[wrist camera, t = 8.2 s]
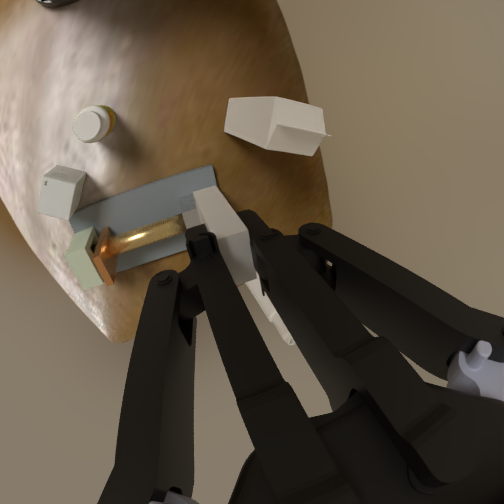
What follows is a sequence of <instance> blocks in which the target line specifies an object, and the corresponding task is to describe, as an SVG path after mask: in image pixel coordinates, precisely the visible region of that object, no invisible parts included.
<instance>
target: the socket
mask: <svg viewBox="0 0 504 504" xmlns="http://www.w3.org/2000/svg"><path fill="white" fill-rule="evenodd" d="M98 239H99V238H98V236H97V234H96V231H95V229H94V227H90V228H88V229H85V230H83V231H80V232H78V233H75V235H74V237H73V239H72V241H71V243H70V245H69V247H68V249H67V251H66V253H65V256H64V257H65V259H66V260H67V262H68V264H69V266H70V268H71V270H72V271H73V273H74V275H75V277H76V278H77V280H78V282H79V283H80V285H81V287H82V288H83V290H87V289H90V288H93V287H95V286H98V285H101V284H103V283H104V279H103V277H102V276H101V274H100V272H99V270H98V268H97V266H96V264H95V262H94V261H93V253H92V251H91V249H90V247H91V245H92V244H95V243H97V242H98Z"/></svg>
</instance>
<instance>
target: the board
mask: <svg viewBox="0 0 504 504" xmlns="http://www.w3.org/2000/svg"><path fill="white" fill-rule="evenodd" d="M211 186H216V187H217V184H216V180H215V175H214V171H213V166H212V165H207V166H203V167H200V168H196V169H193V170H189V171H186V172H183V173H179V174H176V175H173V176H170V177H166V178H163V179H160V180H157V181H154V182H151V183H148V184H145V185H142V186H139V187H136V188H134V189H131V190H128V191H125V192H123V193H120V194H117V195H114V196H112V197H109V198H107V199H104V200H102V201H99V202H97V203H94V204H92V205H89V206H87V207H84V208H82V209H80V210H77V211H75V212H74V214H73V215H72V217H71V218H70V220H69V222H70V224H71V226H72V228H73V231H74V233H78V232H80V231H83V230H85V229H88V228H90V227H94V229H95V231H96V234H97V236H98V238H99V236H100V233H101V230H102V228H105V227H109V230H110V232H111V234H112V237H114V236H116V235H119V234H122V233H125V232H127V231H130V230H133V229H136V228H139V227H142V226H145V225H147V224H150V223H153V222H156V221H159V220H162V219H165V218H168V217H171V216H174V215H178V214H181V213H182V212H181V208H180V205H179V201H178V198H180V197H183V196H186V195H189V194H193V192H194V191H198V190H201V189H204V188H208V187H211ZM184 250H187V247H186V238H185V233H182V234H179V235H176V236H173V237H170V238H167V239H164V240H161V241H158V242H155V243H152V244H149V245H146V246H143V247H140V248H137V249H134V250H132V251H129V252H126V253H123V254H120V255H118V259H117V266H116V273H118V272H121V271H124V270H127V269H130V268H133V267H136V266H139V265H142V264H145V263H148V262H151V261H154V260H157V259H160V258H163V257H166V256H169V255H172V254H175V253H178V252H181V251H184Z"/></svg>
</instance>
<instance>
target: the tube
mask: <svg viewBox="0 0 504 504" xmlns="http://www.w3.org/2000/svg"><path fill="white" fill-rule="evenodd" d="M186 230H187V229H186V225H185V222H184V219H183V215H182V213H181V214H178V215H174V216H171V217H168V218H165V219H162V220H159V221H156V222H153V223H150V224H147V225H145V226H142V227H139V228H136V229H133V230H130V231H127V232H125V233H122V234H119V235H116V236H114V237H112V234H111V232H110V230H109V227H105V228H102V230H101V233H100V236H99V239H98V242H97V243H95V244H92V245H91V247H90V249H91V251H92V253H93V261H94V262H95V264H96V266H97V268H98V270H99V272H100V274H101V276H102V277H103V279H104V281H105V283H106V285H107V286H109V285H112V284H114V280H115V273H116V266H117V259H118V255H120V254H123V253H126V252H129V251H132V250H134V249H137V248H140V247H143V246H146V245H149V244H152V243H155V242H158V241H161V240H164V239H167V238H170V237H173V236H176V235H179V234H182V233H185V232H186Z"/></svg>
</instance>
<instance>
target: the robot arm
mask: <svg viewBox="0 0 504 504" xmlns="http://www.w3.org/2000/svg"><path fill="white" fill-rule="evenodd" d="M36 1H37V2H38V3H40V4H41V5H43V6H45V7H61V6H65V5H69V4H71V3H74V2H76V1H78V0H36ZM193 195H194V199H195V203H196V207H197V210H198V214H199V218H200V221H201V225H197V226H194V227H191V228H188V229H187V230H186V232H185V238H186V247H187V250H188V253H189V256H190V259H191V262H190V264H189V266H188V267H187V268H186V269H185V270H183V271H182V272H180V273H177V272H176V271H174V270H165V271H161V272H159V273H157V274H156V275H155V276H154V277H152V279H151V281H150V282H149V286H148V290H147V293H146V297H145V300H144V304H143V308H142V312H141V316H140V320H139V324H138V328H137V332H136V336H135V340H134V345H133V349H132V354H131V359H130V363H129V368H128V373H127V379H126V384H125V390H124V395H123V401H122V408H121V414H120V421H119V428H118V436H117V445H116V455H115V465H114V468H113V470H112V472H111V474H110V476H109V478H108V481H107V483H106V485H105V487H104V490H103V492H102V494H101V497H100V499H99V501H98V503H97V504H199V503H198V502H196V501H195V500H193V499H191V497H192V492H193V485H194V371H195V345H196V324H197V319H196V316H197V315H198V314H200V313H202V312H203V311H205V310H206V313H207V316H208V319H209V322H210V326H211V328H212V332H213V335H214V338H215V341H216V344H217V346H218V350H219V353H220V355H221V358H222V361H223V364H224V367H225V370H226V372H227V375H228V378H229V381H230V384H231V386H232V389H233V392H234V394H235V397H236V401H237V405H238V408H239V411H240V413H241V416H242V418H243V421H244V423H245V426H246V428H247V431H248V433H249V436H250V438H251V440H252V443H253V445H254V448H255V450H254V451H253V452H252V453H251V454H250V455H249V457H248V458H247V460H246V461H245V463H244V465H243V467H242V469H241V472H240V474H239V477H238V479H237V482H236V485H235V487H234V490H233V492H232V495H231V498H230V500H229V503H228V504H504V318H503V317H500V316H497V315H493V314H490V313H487V312H484V311H480V310H478V309H475V308H471V307H469V306H468V305H466V304H464V303H463V302H461V301H460V300H458V299H456V298H455V297H453V296H452V295H450V294H448V293H447V292H445V291H443V290H442V289H440V288H438V287H436V286H435V285H433V284H432V283H430V282H428V281H427V280H425V279H423V278H422V277H420V276H418V275H416V274H414V273H413V272H411V271H409V270H408V269H406V268H404V267H402V266H400V265H399V264H397V263H395V262H393V261H391V260H390V259H388V258H386V257H384V256H382V255H380V254H379V253H377V252H375V251H373V250H371V249H369V248H367V247H365V246H364V245H362V244H360V243H358V242H356V241H354V240H352V239H350V238H348V237H346V236H344V235H343V234H341V233H339V232H337V231H335V230H333V229H331V228H329V227H327V226H325V225H322V224H319V223H307V224H305V225H302V226H301V227H300V228H299V230H298V232H299V234H298V235H288V236H284V235H283V234H282V233H281V232H280V231H278V230H277V229H273V228H269V227H268V226H267V225H266V224H265V223H264V221H263V220H261V218H260V217H259V216H258V215H257V214H256V213H255V212H254V211H251V210H249V209H248V210H244V211H241V212H238V213H235V211H234V210H233V209H232V207H231V206H230V204H229V203H228V202H227V200H226V199H225V198H224V196H223V195H222V194H221V192H220V191H219V190H218V188H217V187H216V186H211V187H208V188H204V189H201V190H198V191H194V192H193ZM327 260H328V261H330V262H331V263H332V266H329V265H328V264H327ZM256 272H257V273H258V275H259V279H260V284H261V290H262V295H263V296H265V293H266V294H267V296H268V298H269V299H270V301H271V303H272V304H273V306H274V308H275V309H276V311H277V313H278V314H279V316H280V318H281V319H282V321H283V323H284V324H285V326H286V328H287V329H288V331H289V333H290V334H291V336H292V338H293V339H294V341H295V343H296V344H297V346H298V348H299V349H300V351H301V353H302V354H303V356H304V357H305V359H306V361H307V362H308V364H309V366H310V367H311V369H312V371H313V372H314V374H315V376H316V377H317V379H318V381H319V382H320V384H321V385H322V387H323V389H324V390H325V392H326V394H327V396H328V398H329V401H330V405H331V408H332V411H333V412H332V413H328V414H324V415H320V416H315V417H310V418H308V416H307V414H306V412H305V410H304V409H303V407H302V405H301V403H300V401H299V400H298V398H297V396H296V394H295V392H294V390H293V389H292V387H291V386H290V384H289V383H288V382H285V380H284V379H283V378H282V375H281V373H280V371H279V370H278V368H277V366H276V364H275V362H274V360H273V358H272V356H271V354H270V352H269V350H268V348H267V346H266V344H265V342H264V340H263V338H262V336H261V334H260V332H259V330H258V329H257V326H256V324H255V323H254V320H253V319H252V316H251V314H250V312H249V310H248V308H247V306H246V304H245V302H244V300H243V299H242V296H241V294H240V292H239V290H238V288H237V285H240V284H242V283H245V282H248V281H251V280H254V279H257V275H256ZM362 324H363V325H365V326H366V327H367V328H369V329H370V330H372V331H373V332H374V333H376V334H377V335H378V336H379V337H373V336H372V335H371V334H370V333H369V332H368V331H367V329H366V328H365V327H364V326H363V325H362ZM398 350H399V351H400V352H401V353H403V354H404V355H405V356H407V357H408V358H410V359H411V360H412V361H413V362H415V363H416V364H417V365H419V366H420V367H422V368H423V369H425V370H426V371H428V372H429V373H431V374H433V375H435V376H437V377H439V378H441V379H444V380H446V381H448V384H447V388H445V387H441V386H438V385H434V384H430V383H427V382H424V381H423V379H422V378H421V377H420V376H419V375H418V373H417V372H416V371H415V370H414V369H413V367H412V366H411V365H410V364H409V363H408V361H407V360H406V359H405V358H404V357H403V355H402V354H401V353H400V352H399V351H398Z"/></svg>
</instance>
